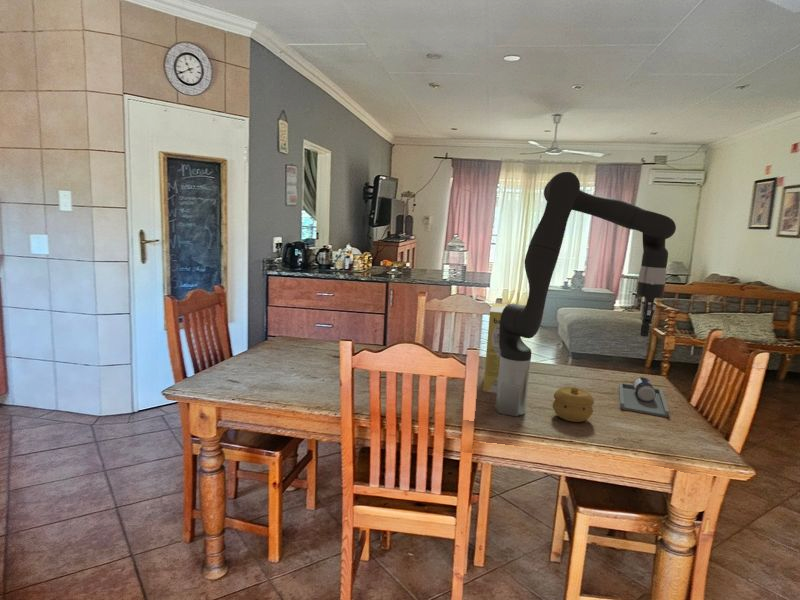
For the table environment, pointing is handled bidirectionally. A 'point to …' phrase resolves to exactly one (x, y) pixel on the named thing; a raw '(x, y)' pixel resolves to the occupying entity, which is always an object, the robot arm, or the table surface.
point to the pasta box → (493, 349)
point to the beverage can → (644, 389)
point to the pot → (573, 404)
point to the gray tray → (633, 403)
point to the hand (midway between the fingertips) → (643, 336)
